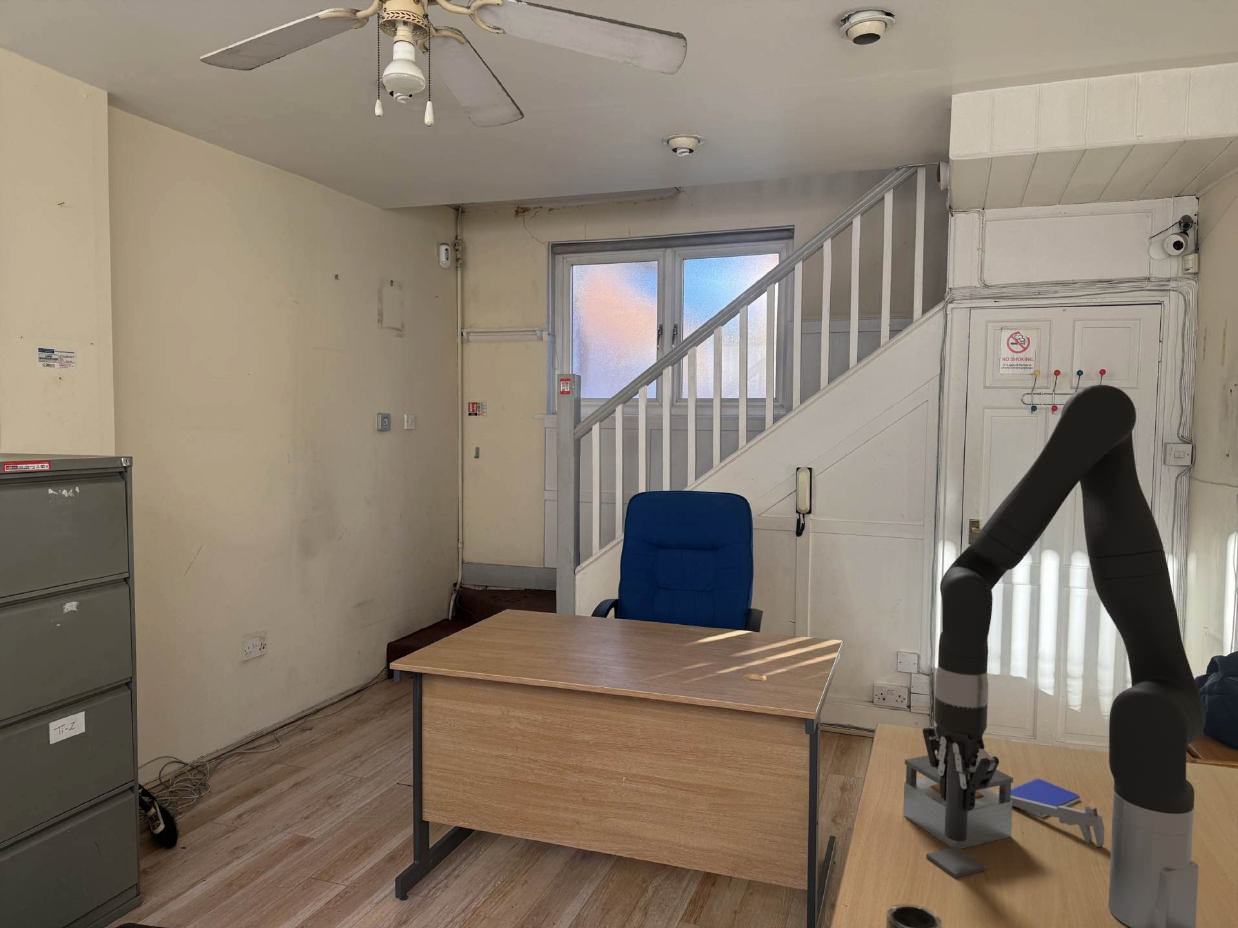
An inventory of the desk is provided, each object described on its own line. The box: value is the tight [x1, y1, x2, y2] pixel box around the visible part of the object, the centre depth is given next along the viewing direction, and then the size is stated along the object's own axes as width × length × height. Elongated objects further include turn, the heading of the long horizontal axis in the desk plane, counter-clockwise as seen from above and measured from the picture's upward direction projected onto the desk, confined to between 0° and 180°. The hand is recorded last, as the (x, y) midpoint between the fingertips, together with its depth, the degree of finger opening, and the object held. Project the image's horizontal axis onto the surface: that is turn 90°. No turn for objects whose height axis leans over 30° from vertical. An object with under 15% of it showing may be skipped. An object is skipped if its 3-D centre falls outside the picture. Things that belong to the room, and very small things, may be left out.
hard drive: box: [1011, 778, 1081, 819], centre depth 144 cm, size 2×8×12 cm
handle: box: [944, 742, 970, 841], centre depth 123 cm, size 3×3×15 cm
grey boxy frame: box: [902, 753, 1014, 850], centre depth 134 cm, size 12×12×10 cm
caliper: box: [995, 791, 1105, 848], centre depth 137 cm, size 20×1×6 cm, turn 30°
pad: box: [925, 847, 986, 879], centre depth 123 cm, size 6×6×1 cm
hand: (956, 803), depth 123 cm, fingers closed on handle, 3 cm apart
